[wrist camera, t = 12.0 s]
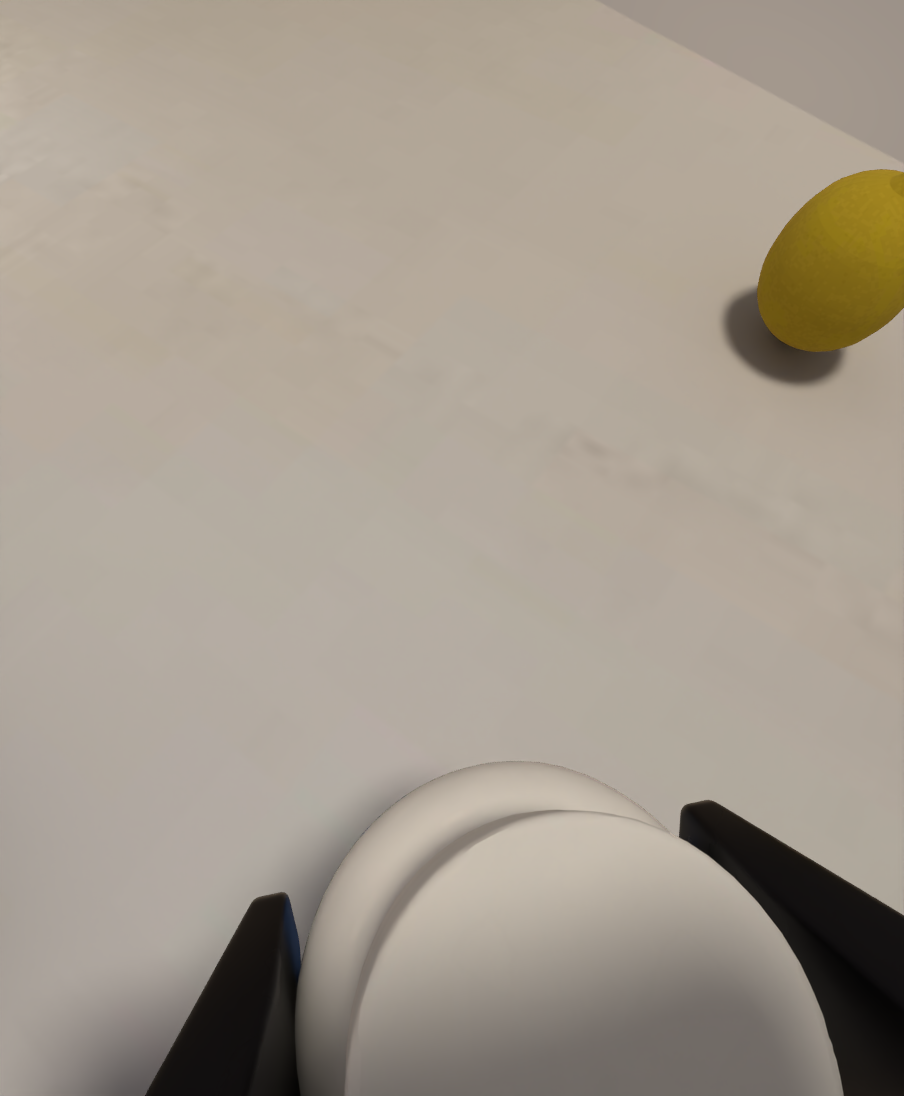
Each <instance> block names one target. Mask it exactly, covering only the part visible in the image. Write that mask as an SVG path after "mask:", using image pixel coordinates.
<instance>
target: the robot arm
mask: <svg viewBox="0 0 904 1096" xmlns="http://www.w3.org/2000/svg"><path fill="white" fill-rule="evenodd" d="M679 838H681V839H683V840H685V841H687V842H688V843H690V844H691V845H693V846H694V847H696V848H697V849H699V850H700V851H702V852H703V853H705V854H706V855H708V856H709V857H710V858H712V859H713V860H714V861H715V862H716V863H718V864H719V865H720V866H721V867H722V868H724V869H725V870H726V871H727V872H728V873H730V874H731V875H732V876H733V877H734V878H735V879H736V880H737V881H738V882H739V883H740V884H741V885H742V886H743V887H744V888H745V889H746V890H747V891H748V892H749V894H750V895H751V896H752V897H753V898H754V899H755V900H756V901H757V902H758V903H759V904H760V906H761V907H762V908H763V910H764V911H765V912H766V913H767V915H768V916H769V917H770V919H771V920H772V921H773V922H774V924H775V925H776V926H777V928H778V929H779V930H780V931H781V933H782V934H783V936H784V938H785V939H786V941H787V943H788V944H789V946H790V948H791V949H792V951H793V952H794V954H795V956H796V957H797V959H798V961H799V962H800V964H801V966H802V968H803V971H804V973H805V975H806V977H807V979H808V981H809V983H810V985H811V987H812V990H813V992H814V994H815V997H816V999H817V1002H818V1004H819V1007H820V1009H821V1012H822V1014H823V1017H824V1020H825V1024H826V1028H827V1032H828V1036H829V1038H830V1041H831V1043H832V1045H833V1052H834V1054H835V1057H836V1060H837V1065H838V1069H839V1074H840V1078H841V1083H842V1089H843V1095H844V1096H904V915H902V914H901V913H899V912H897V911H896V910H894V909H892V908H891V907H889V906H887V905H886V904H884V903H882V902H881V901H879V900H877V899H876V898H874V897H872V896H871V895H869V894H867V893H866V892H864V891H862V890H861V889H859V888H857V887H856V886H854V885H852V884H851V883H849V882H847V881H846V880H844V879H842V878H841V877H839V876H837V875H836V874H834V873H833V872H831V871H829V870H828V869H826V868H824V867H823V866H821V865H819V864H818V863H816V862H814V861H813V860H811V859H809V858H808V857H806V856H804V855H803V854H801V853H799V852H798V851H796V850H794V849H793V848H791V847H789V846H788V845H786V844H784V843H783V842H781V841H779V840H778V839H776V838H774V837H773V836H771V835H769V834H768V833H766V832H764V831H763V830H761V829H759V828H758V827H756V826H755V825H753V824H751V823H750V822H748V821H746V820H745V819H743V818H741V817H740V816H738V815H736V814H735V813H733V812H731V811H730V810H728V809H726V808H725V807H723V806H721V805H720V804H718V803H716V802H714V801H711V800H704V801H700V802H695V803H690V804H686V805H685V806H684V807H683V808H682V810H681V816H680V830H679ZM300 968H301V959H300V944H299V937H298V933H297V928H296V924H295V920H294V916H293V912H292V908H291V903H290V900H289V897H288V895H287V894H286V893H284V892H280V893H275V894H271V895H266V896H261V897H258V898H256V899H255V900H254V901H253V902H252V903H251V905H250V906H249V908H248V910H247V912H246V914H245V915H244V917H243V919H242V921H241V923H240V924H239V926H238V928H237V930H236V932H235V934H234V935H233V937H232V939H231V941H230V943H229V944H228V946H227V948H226V950H225V952H224V953H223V955H222V957H221V959H220V961H219V962H218V964H217V966H216V968H215V970H214V972H213V973H212V975H211V977H210V979H209V981H208V982H207V984H206V986H205V988H204V990H203V991H202V993H201V995H200V997H199V999H198V1000H197V1002H196V1004H195V1006H194V1008H193V1010H192V1011H191V1013H190V1015H189V1017H188V1019H187V1020H186V1022H185V1024H184V1026H183V1028H182V1029H181V1031H180V1033H179V1035H178V1037H177V1038H176V1040H175V1042H174V1044H173V1046H172V1048H171V1049H170V1051H169V1053H168V1055H167V1057H166V1058H165V1060H164V1062H163V1064H162V1066H161V1067H160V1069H159V1071H158V1073H157V1075H156V1076H155V1078H154V1080H153V1082H152V1084H151V1086H150V1087H149V1089H148V1091H147V1093H146V1095H145V1096H301V1095H300V1088H299V1080H298V1074H297V1064H296V1047H295V1007H296V996H297V985H298V979H299V974H300Z"/></svg>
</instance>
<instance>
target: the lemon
mask: <svg viewBox="0 0 904 1096" xmlns="http://www.w3.org/2000/svg"><path fill="white" fill-rule="evenodd" d="M757 298H758V306H759V311H760V314H761V316H762V319H763V321H764V323H765V325H766V326H767V328H768V329H769V330H770V332H771V333H772V334H773V335H774V336H776V337H777V338H778V339H779V340H780V341H782V342H784V343H785V344H787V345H789V346H792V347H794V348H797V349H800V350H806V351H812V352H819V351H832V350H836V349H840V348H843V347H847V346H851V345H853V344H855V343H858V342H859V341H861V340H863V339H865V338H866V337H868V336H870V335H871V334H873V333H875V332H876V331H878V330H879V329H881V328H882V327H883V326H885V325H886V324H887V323H888V322H890V321H891V320H892V319H893V318H894V317H895V316H896V315H897V314H898V313H899V312H900V311H901V310H902V309H903V308H904V173H903V172H900V171H896V170H883V169H880V170H869V171H863V172H859V173H856V174H853V175H850V176H847V177H844V178H841V179H840V180H838V181H836V182H834V183H832V184H831V185H829V186H828V187H826V188H825V189H824V190H822V191H821V192H819V193H818V194H817V195H815V196H814V197H813V198H812V199H811V200H809V201H808V202H807V203H806V204H805V205H804V206H803V207H802V208H801V209H800V210H799V211H798V212H797V213H796V214H795V215H794V216H793V217H792V218H791V220H790V221H789V222H788V223H787V224H786V226H785V227H784V229H783V230H782V231H781V233H780V234H779V236H778V237H777V239H776V240H775V242H774V244H773V245H772V247H771V248H770V250H769V252H768V254H767V256H766V258H765V261H764V263H763V266H762V270H761V273H760V278H759V282H758V288H757Z"/></svg>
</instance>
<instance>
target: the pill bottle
mask: <svg viewBox="0 0 904 1096" xmlns="http://www.w3.org/2000/svg"><path fill="white" fill-rule="evenodd" d="M295 1047H296V1064H297V1074H298V1080H299V1088H300V1095H301V1096H844V1095H843V1089H842V1083H841V1078H840V1074H839V1069H838V1065H837V1060H836V1057H835V1054H834V1052H833V1045H832V1043H831V1041H830V1038H829V1036H828V1032H827V1028H826V1024H825V1020H824V1017H823V1014H822V1012H821V1009H820V1007H819V1004H818V1002H817V999H816V997H815V994H814V992H813V990H812V987H811V985H810V983H809V981H808V979H807V977H806V975H805V973H804V971H803V968H802V966H801V964H800V962H799V961H798V959H797V957H796V956H795V954H794V952H793V951H792V949H791V948H790V946H789V944H788V943H787V941H786V939H785V938H784V936H783V934H782V933H781V931H780V930H779V929H778V928H777V926H776V925H775V924H774V922H773V921H772V920H771V919H770V917H769V916H768V915H767V913H766V912H765V911H764V910H763V908H762V907H761V906H760V904H759V903H758V902H757V901H756V900H755V899H754V898H753V897H752V896H751V895H750V894H749V892H748V891H747V890H746V889H745V888H744V887H743V886H742V885H741V884H740V883H739V882H738V881H737V880H736V879H735V878H734V877H733V876H732V875H731V874H730V873H728V872H727V871H726V870H725V869H724V868H722V867H721V866H720V865H719V864H718V863H716V862H715V861H714V860H713V859H712V858H710V857H709V856H708V855H706V854H705V853H703V852H702V851H700V850H699V849H697V848H696V847H694V846H693V845H691V844H690V843H688V842H687V841H685V840H683V839H681V838H679V837H677V836H675V835H673V834H671V833H670V832H669V831H668V830H667V829H666V828H665V827H664V826H663V825H662V824H661V823H660V822H659V821H657V820H656V819H655V818H654V817H653V816H652V815H651V814H649V813H648V812H647V811H646V810H644V809H643V808H642V807H641V806H639V805H638V804H636V803H635V802H634V801H632V800H631V799H629V798H628V797H626V796H624V795H623V794H621V793H620V792H618V791H617V790H615V789H613V788H611V787H610V786H608V785H606V784H604V783H602V782H600V781H598V780H596V779H594V778H592V777H590V776H588V775H585V774H582V773H579V772H576V771H573V770H570V769H567V768H564V767H560V766H555V765H550V764H545V763H540V762H524V761H506V762H493V763H486V764H480V765H476V766H472V767H467V768H463V769H460V770H457V771H454V772H451V773H448V774H446V775H443V776H441V777H439V778H436V779H434V780H432V781H430V782H428V783H426V784H424V785H422V786H420V787H419V788H417V789H415V790H414V791H412V792H410V793H409V794H407V795H406V796H404V797H403V798H401V799H400V800H399V801H397V802H396V803H395V804H393V805H392V806H391V807H390V808H389V809H387V810H386V811H385V812H384V813H383V814H382V815H380V816H379V817H378V818H377V819H376V820H375V821H374V822H373V823H372V824H371V825H370V826H369V827H368V828H367V829H366V831H365V832H364V833H363V834H362V835H361V837H360V838H359V839H358V840H357V842H356V843H355V844H354V845H353V847H352V848H351V850H350V851H349V852H348V854H347V855H346V857H345V858H344V860H343V861H342V863H341V864H340V866H339V868H338V870H337V871H336V873H335V875H334V876H333V878H332V880H331V882H330V884H329V886H328V888H327V890H326V892H325V894H324V896H323V898H322V900H321V903H320V905H319V907H318V910H317V912H316V915H315V918H314V921H313V923H312V926H311V929H310V932H309V936H308V939H307V942H306V946H305V950H304V955H303V959H302V963H301V968H300V974H299V979H298V985H297V996H296V1007H295Z"/></svg>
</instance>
